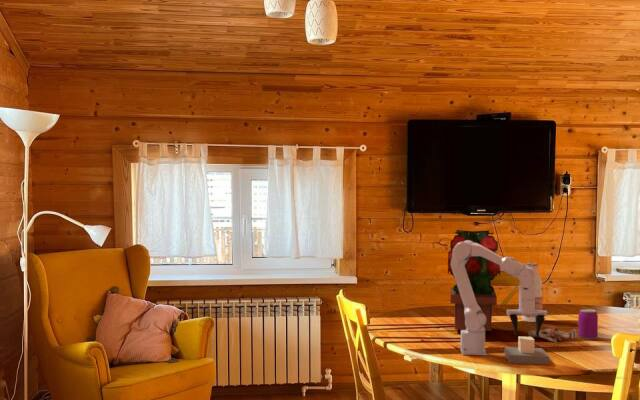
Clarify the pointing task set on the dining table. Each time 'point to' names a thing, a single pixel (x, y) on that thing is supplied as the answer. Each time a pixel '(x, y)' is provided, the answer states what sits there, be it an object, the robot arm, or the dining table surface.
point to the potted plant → (476, 277)
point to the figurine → (552, 334)
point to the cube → (526, 344)
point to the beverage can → (588, 324)
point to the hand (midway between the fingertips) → (526, 334)
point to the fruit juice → (537, 294)
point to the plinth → (526, 356)
